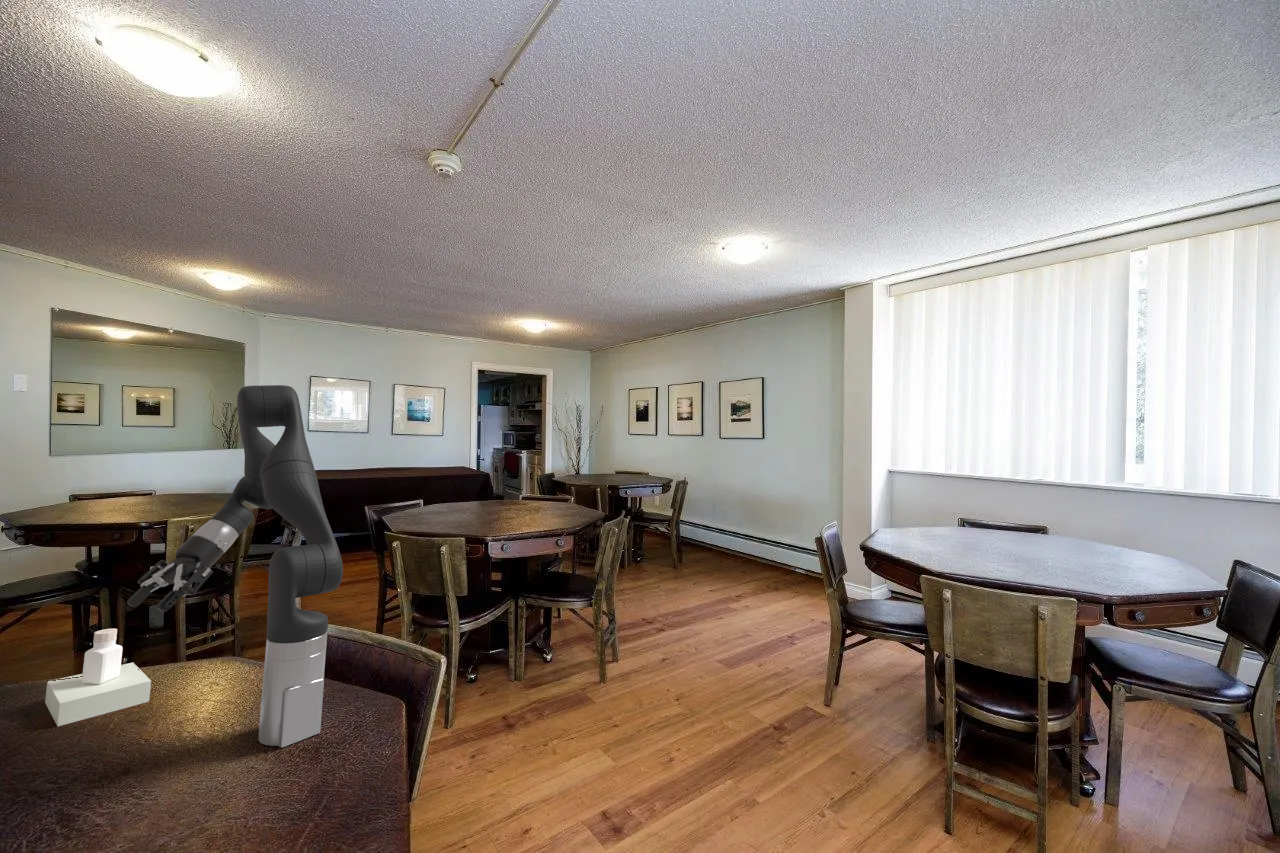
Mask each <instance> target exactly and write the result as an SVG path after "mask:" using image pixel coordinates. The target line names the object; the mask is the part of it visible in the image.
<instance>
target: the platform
mask: <svg viewBox="0 0 1280 853" xmlns="http://www.w3.org/2000/svg"><path fill="white" fill-rule="evenodd" d="M138 669H139V670H138ZM82 675H83V673H80V674H79V673H78V674H75V675H74V674H73V675H71V676H64V677H61V678H60V679H65V678H71V679H65V680H57V679H58V678H57V679H55V680H56V681H52V680H48V682H47V681H46V682H47V683H46V691H45V692H46V693H45V699H44V703H45V705H46V708H47V709H48V711H49V713H50V715H51V717H52V719H53V720H54V723H55V724H56V727H61V726H65V725H68V724H73V723H75V722H79V721H83V720H88V719H91V718H94V717H98V716H101V715H105V714H109V713H112V712H116V711H120V710H123V709H127V708H131V707H134V706H138V705H141V704H144V703H149V702H150V698H151V697H150V696H151V687H152V686H151V685H152V680H151V679H150V678H149V677H148V676H147V674H145V673H144V672H143V671H142V670H141V669H140V668H139V667H138V666H137V665H136V664H135V662H130V663H124V664H121V669H120V675H119V676H118V677H116V678H114V679H111V680H109V681H106V682H104V683H101V684H88V683H82V677H80V676H82ZM72 677H79V678H72Z"/></svg>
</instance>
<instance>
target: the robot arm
mask: <svg viewBox="0 0 1280 853" xmlns="http://www.w3.org/2000/svg"><path fill="white" fill-rule="evenodd" d="M300 404H301V403H300V400H299V395H298V393H297V391H296V389H294V388H293V387H292V386H289V385H284V384H281V385H280V384H279V385H275V384H273V385H272V384H271V385H269V384H267V385H247V386H243V387H241V388H240V389H239V391H238V393H237V398H236V406H237V407H236V409H237V417H238V425H239V433H240V437H241V442H242V447H243V451H244V453H243V454H244V463H243V464H244V465H243V466H244V471H243V473H244V476H242V477H241V478H240V479H239V480H238V482H237V483H236V485H235V487H234V488H233V489H234V490H233V491H232V492H231V494H230V496H229V498H228V499H227V501H226V502H225V504H224V505H223V506H222V508H221V509H219V511H217V512H216V513H215V515H213V516H212V517H211V518H210V519H209V520H208V521H207V522H206V523H204V524H203V525H202V526H200V527H199V528H198V529H197V530H196V531H195V532H194V533H193V534H192V535H191V536H190V537H188V538H187V540H186V541H184V543H182V544H181V546H179V547H178V549H176V551H175V555H176V558H175V559H173V560H172V561H170V562H167V561H165V560H164V559H161V560H159V561H158V562H157V563H156V564H154V565H153V567H151V568H150V569H149V570H148V571H147V572H145V574H144V575H142V576H141V577H140V578H138V580H137V584H139V585H140V588H138V589H137V591H135V592H134V593H133V594H132V595H131V596H130V597H129V599H128V600H126V604H127V605H129V606H130V607H131V608H138V607H139V606H140V605H141V604H142V603H143V602H144V601H145V600H146V599H147V598H148V597H149V596H151V594H152V592H154V591H156V590H158V589H159V588H165V587H167V586H169V585H173V588H172V590H170V591H169V592H168V593H167V594H166V595H165V596H164V597H163V598H162V599H161V600H160V601H159V602H158V603H157V604H156V607H155V608H156V609H157V610H159V611H160V612H161V613H166V612H168V611H169V610H170V609H171V608H172V607H173V606H174V605H175V604H176V603H177V602H178V600H180V598H182V597H183V598H184V597H186V596H187V595H190V596H193V595H194V594H196V593H197V592H198V590H199V589H200V588H201V587H202V586H203V585H204V583H206V581H207V580H208V579H209V577H210V576H211V575H212V574H213V572H214V571H213V570H212V569H211V568H212V567H213V566H214V564H215V563H216V562H217V561H218V560H220V558H221V557H222V556H223V554H225V553H226V552H227V551H228V550H229V548H230V547H231V546H232V545H233V544H234V543H235V541H236V540H237V539H238V537H239V536H240V535H241V534H243V532H244V531H245V530H246V529H247V528H248V527H249V526H250V525H251V523H252V522H253V521H254V520H255V519H254V518H255V516H254V513H253V511H251V510H250V509H249V508H248V507H246V506H245V505H244V504H243V503H244V502H247V503H249V504H252V505H254V506H257V507H259V508H260V509H264V510H272V509H273V510H274V511H275V512H276V513H277V514H278V515H279V516H281V517H282V518H283V519H285V520H286V521H287V522H288V523H290V524H291V525H292V526H293V527H295V529H297V530H298V531H299V533H300V534H301V536H303V538H304V540H305V543H306V544H304V545H302V544H301V545H293V546H292V545H291V546H285V547H281V548H278V549H277V550H275V551H274V552H273V554H272V555H271V559H270V562H269V568H268V591H267V592H268V598H267V600H268V602H267V603H268V604H267V615H266V616H267V619H266V620H267V621H266V622H267V623H266V624H267V625H266V627H267V630H266V632H267V633H266V643H265V655H264V664H263V665H264V668H263V677H262V690H261V702H260V713H259V714H260V716H259V717H260V718H259V726H258V727H259V728H258V729H259V730H258V738H257V739H258V741H259V743H260V744H262V745H265V746H271V747H273V746H275V747H276V746H277V747H279V748H284V747H285V748H286V747H287V746H289V745H292V744H295V743H298V742H300V741H303V740H305V739H308V738H310V737H312V736H315V735H317V734H320V733H321V727H322V712H323V700H324V699H323V698H324V689H325V688H324V685H325V668H326V666H325V665H326V654H327V643H328V641H327V640H328V628H329V618H328V615H326V614H325V613H323V612H320V611H316V610H307V609H302V608H299V607H297V604H296V599H297V598H303V597H309V596H315V595H321V594H322V595H323V594H327V593H331V592H333V591H335V590H337V589H338V588H339V587H340V585H341V583H342V579H343V575H344V566H343V565H344V564H343V560H342V556H341V552H340V551H341V550H340V549H339V545H338V544H337V543H338V542H337V541H336V537H335V536H334V532H333V530H332V528H331V525H330V523H329V520H328V517H327V513H326V511H325V507H324V504H323V499H322V495H321V492H320V491H321V490H320V486H319V481H318V477H317V473H316V470H315V466H314V463H313V459H312V457H311V454H310V449H309V446H308V442H307V438H306V434H305V427H304V422H303V417H302V416H303V415H302V410H301V409H302V408H301V405H300ZM270 427H284V429H283V430H284V431H283V432H282V435H281V436H280V439H279V440H278V441H277V442H276V444H275V443H273V442H272V441H271V439H269V438H267V437H266V436H265V435H264V434H263V433H262V432H261V431H260V429H259V428H270ZM150 577H151V578H150ZM193 583H195V584H194V585H193ZM192 585H193V586H192Z"/></svg>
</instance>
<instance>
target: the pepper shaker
mask: <svg viewBox="0 0 1280 853" xmlns="http://www.w3.org/2000/svg"><path fill="white" fill-rule="evenodd" d="M117 635H118V628H115V627H114V628H106V629H101V630H97V631H94V633H93V641H92V643H93V647H92V648H90V649H88V650H86V651H85V653H84V658H83V666H82V674H83V675H82V676H83V677H82V683H88V684H101V683H104V682H106V681H109V680H111V679H114V678H116V677H118V676H119V675H120V669H121V665H122V659H123V658H122V656H123V650H124V649H123V646H122V645H121V644H117V638H118V637H117Z"/></svg>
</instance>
